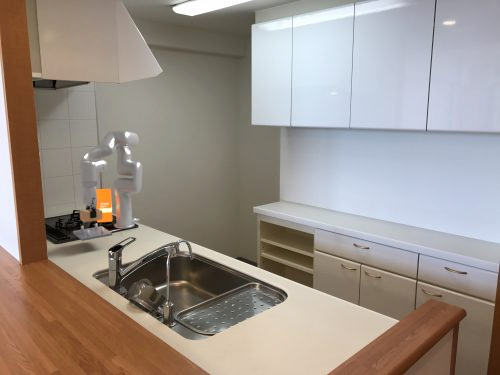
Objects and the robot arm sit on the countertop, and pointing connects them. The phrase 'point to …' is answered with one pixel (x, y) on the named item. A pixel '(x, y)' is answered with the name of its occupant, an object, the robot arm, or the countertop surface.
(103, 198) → the orange juice
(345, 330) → the countertop surface
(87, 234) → the pin tray
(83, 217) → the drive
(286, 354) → the countertop surface
